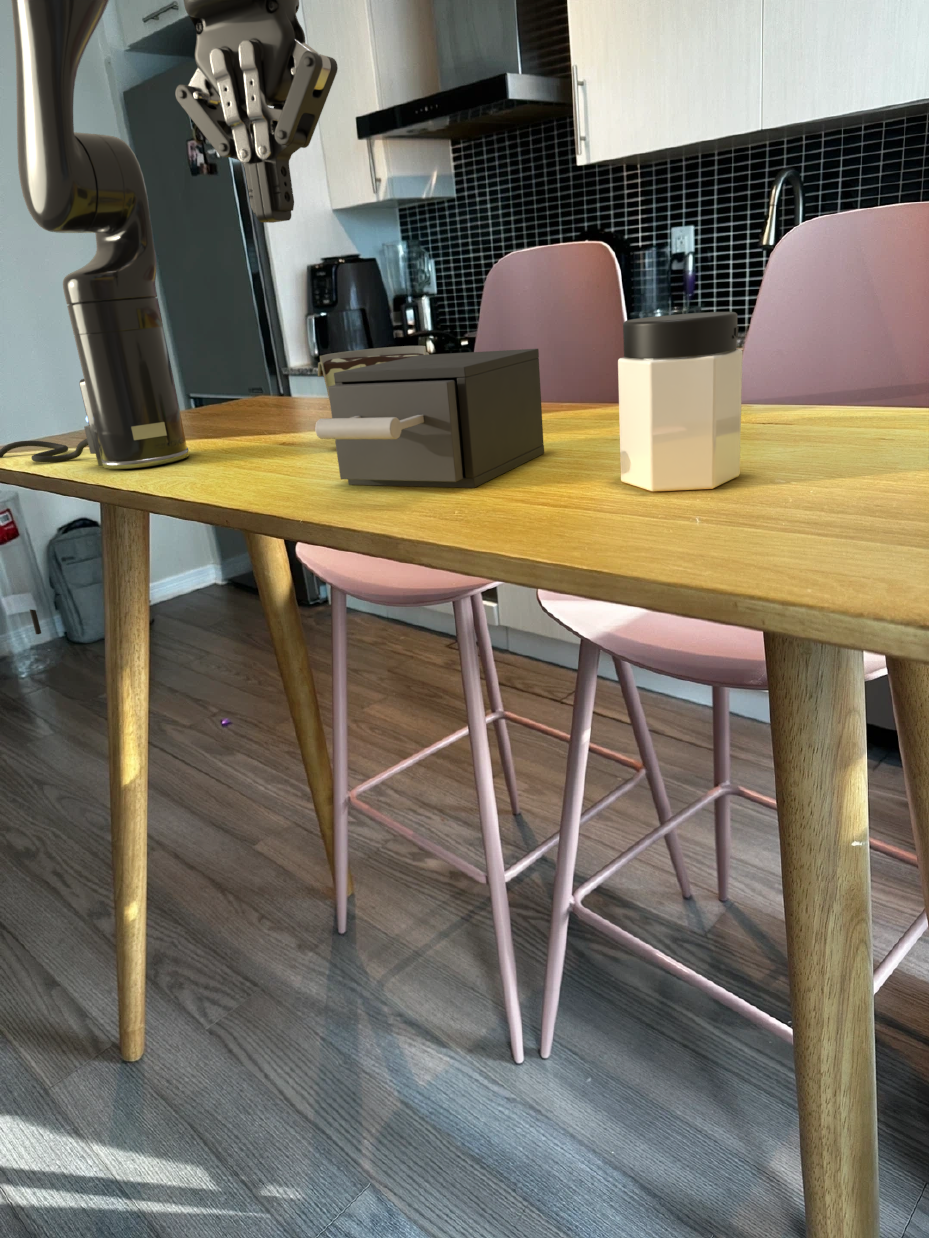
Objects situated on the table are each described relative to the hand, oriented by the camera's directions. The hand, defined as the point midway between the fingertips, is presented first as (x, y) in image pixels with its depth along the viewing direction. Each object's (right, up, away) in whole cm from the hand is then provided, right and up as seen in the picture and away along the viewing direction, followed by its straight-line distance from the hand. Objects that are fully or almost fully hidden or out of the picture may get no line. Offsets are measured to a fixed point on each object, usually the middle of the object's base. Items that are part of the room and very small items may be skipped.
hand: (274, 221), depth 63 cm
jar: (+30, -18, +5) cm, 36 cm away
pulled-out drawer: (+10, -16, +13) cm, 23 cm away
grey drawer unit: (+12, -15, +18) cm, 26 cm away
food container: (+5, -9, +35) cm, 37 cm away
